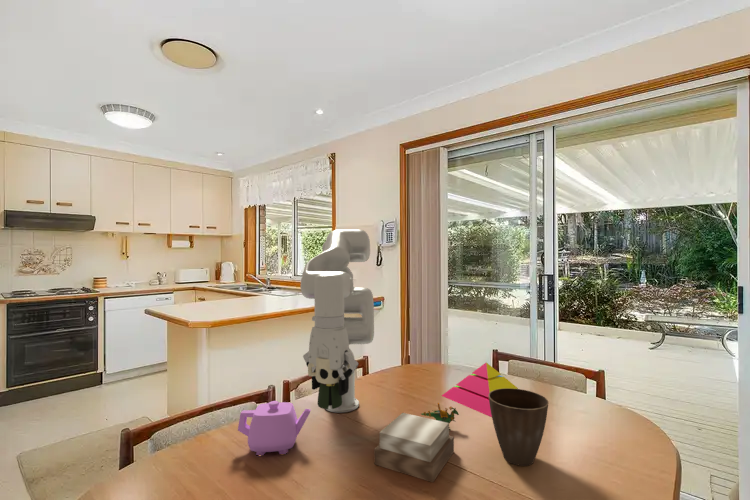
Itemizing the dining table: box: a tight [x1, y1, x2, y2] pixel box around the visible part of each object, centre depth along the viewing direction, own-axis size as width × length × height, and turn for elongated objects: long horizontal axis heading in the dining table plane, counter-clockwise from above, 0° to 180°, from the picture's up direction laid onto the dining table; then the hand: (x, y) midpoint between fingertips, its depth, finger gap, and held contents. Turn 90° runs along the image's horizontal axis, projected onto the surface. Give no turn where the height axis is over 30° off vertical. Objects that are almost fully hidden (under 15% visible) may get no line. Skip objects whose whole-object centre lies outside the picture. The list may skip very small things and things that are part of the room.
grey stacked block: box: [373, 412, 455, 483], centre depth 101 cm, size 16×16×8 cm
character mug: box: [307, 357, 350, 410], centre depth 96 cm, size 11×7×13 cm, turn 99°
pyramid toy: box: [441, 361, 519, 418], centre depth 142 cm, size 25×25×14 cm
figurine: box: [420, 402, 460, 431], centre depth 117 cm, size 3×12×8 cm, turn 92°
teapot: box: [237, 400, 312, 457], centre depth 107 cm, size 20×12×13 cm, turn 96°
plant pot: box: [489, 388, 549, 467], centre depth 100 cm, size 15×15×16 cm
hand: (329, 390), depth 96 cm, fingers closed on character mug, 7 cm apart
